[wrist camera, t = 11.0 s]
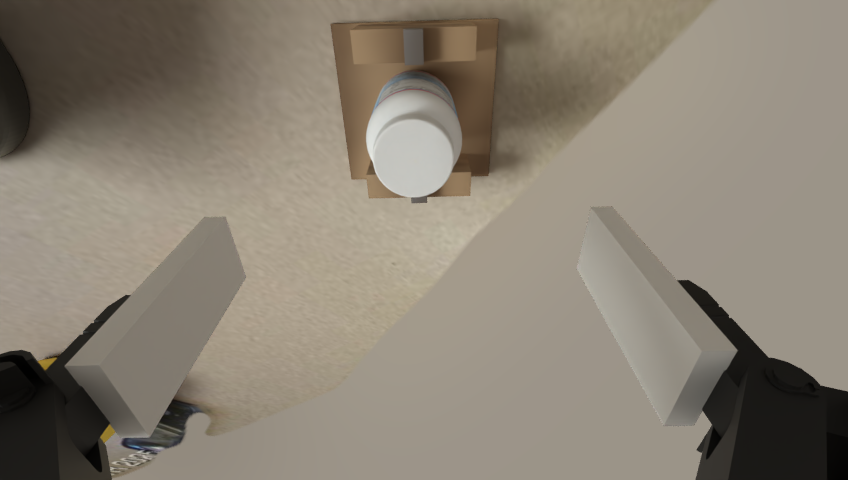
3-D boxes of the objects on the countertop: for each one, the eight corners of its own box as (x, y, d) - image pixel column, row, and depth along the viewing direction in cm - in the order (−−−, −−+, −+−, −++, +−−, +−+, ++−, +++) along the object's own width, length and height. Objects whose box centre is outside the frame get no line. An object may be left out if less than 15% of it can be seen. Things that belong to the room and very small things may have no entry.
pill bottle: (428, 158, 34) (431, 226, 24) (364, 121, 32) (340, 179, 22) (468, 95, 31) (490, 143, 21) (400, 51, 29) (391, 82, 20)
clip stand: (352, 176, 35) (341, 205, 30) (332, 23, 29) (314, 30, 24) (487, 173, 35) (497, 201, 30) (497, 18, 29) (512, 24, 24)
